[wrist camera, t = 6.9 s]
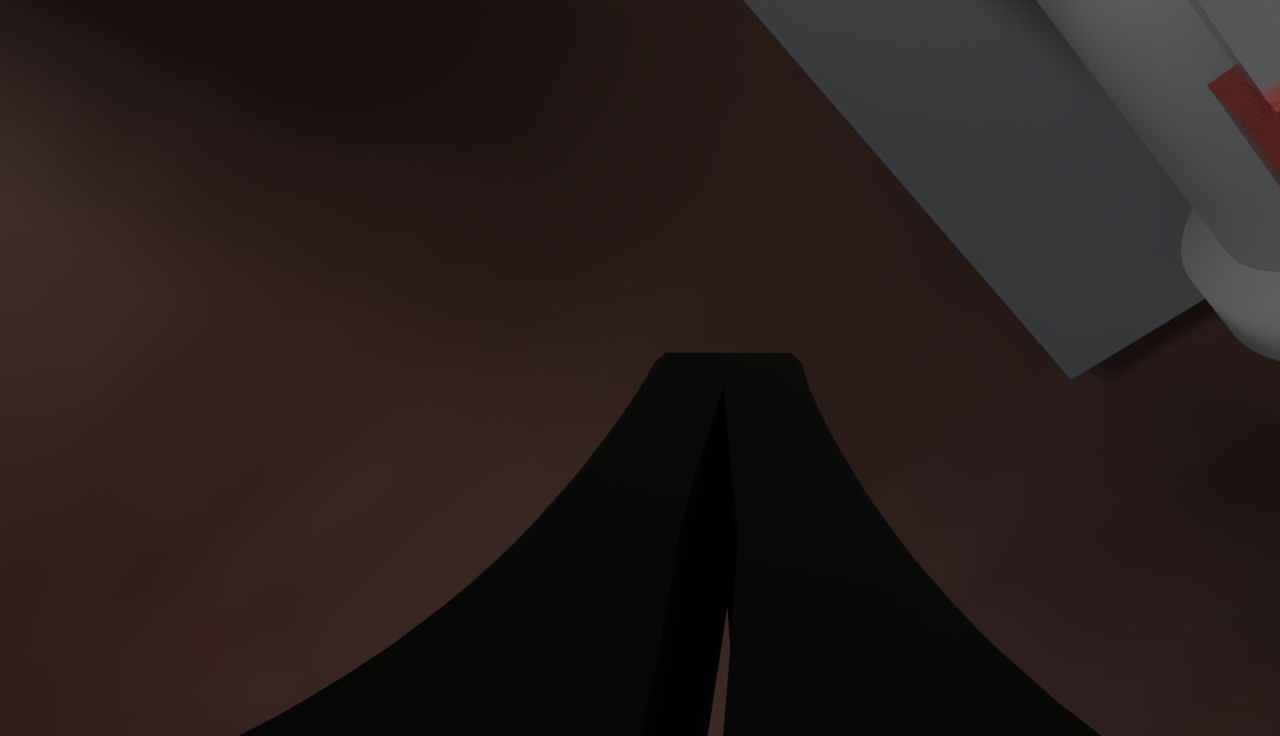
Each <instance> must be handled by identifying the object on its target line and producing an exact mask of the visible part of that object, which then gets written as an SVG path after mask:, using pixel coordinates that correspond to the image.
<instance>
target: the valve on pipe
mask: <svg viewBox="0 0 1280 736" xmlns="http://www.w3.org/2000/svg"><path fill="white" fill-rule="evenodd" d="M744 2H745V3H746V4H747V5H748V6H749V7H750V9H751V10H752V11H753V12H754V13H755V14H756V15H757V17H758V18H759V19H760V20H761V21H762V22H763V24H764V25H765V26H766V27H767V28H768V29H769V31H770V32H771V33H772V34H773V35H774V36H775V37H776V39H777V40H778V41H779V42H780V43H781V44H782V46H783V47H784V48H785V49H786V50H787V51H788V53H789V54H790V55H791V56H792V57H793V58H794V59H795V61H796V62H797V63H798V64H799V65H800V66H801V68H802V69H803V70H804V71H805V72H806V73H807V75H808V76H809V77H810V78H811V79H812V80H813V81H814V83H815V84H816V85H817V86H818V87H819V88H820V90H821V91H822V92H823V93H824V94H825V95H826V97H827V98H828V99H829V100H830V101H831V102H832V103H833V105H834V106H835V107H836V108H837V109H838V110H839V112H840V113H841V114H842V115H843V116H844V117H845V119H846V120H847V121H848V122H849V123H850V124H851V125H852V127H853V128H854V129H855V130H856V131H857V132H858V134H859V135H860V136H861V137H862V138H863V139H864V141H865V142H866V143H867V144H868V145H869V146H870V147H871V149H872V150H873V151H874V152H875V153H876V154H877V156H878V157H879V158H880V159H881V160H882V161H883V163H884V164H885V165H886V166H887V167H888V168H889V169H890V171H891V172H892V173H893V174H894V175H895V176H896V178H897V179H898V180H899V181H900V182H901V183H902V185H903V186H904V187H905V188H906V189H907V190H908V191H909V193H910V194H911V195H912V196H913V197H914V198H915V200H916V201H917V202H918V203H919V204H920V205H921V207H922V208H923V209H924V210H925V211H926V212H927V213H928V215H929V216H930V217H931V218H932V219H933V220H934V222H935V223H936V224H937V225H938V226H939V227H940V229H941V230H942V231H943V232H944V233H945V234H946V235H947V237H948V238H949V239H950V240H951V241H952V242H953V244H954V245H955V246H956V247H957V248H958V249H959V251H960V252H961V253H962V254H963V255H964V256H965V257H966V259H967V260H968V261H969V262H970V263H971V264H972V266H973V267H974V268H975V269H976V270H977V271H978V273H979V274H980V275H981V276H982V277H983V278H984V279H985V281H986V282H987V283H988V284H989V285H990V286H991V288H992V289H993V290H994V291H995V292H996V293H997V295H998V296H999V297H1000V298H1001V299H1002V300H1003V301H1004V303H1005V304H1006V305H1007V306H1008V307H1009V308H1010V310H1011V311H1012V312H1013V313H1014V314H1015V315H1016V317H1017V318H1018V319H1019V320H1020V321H1021V322H1022V323H1023V325H1024V326H1025V327H1026V328H1027V329H1028V330H1029V332H1030V333H1031V334H1032V335H1033V336H1034V337H1035V339H1036V340H1037V341H1038V342H1039V343H1040V344H1041V345H1042V347H1043V348H1044V349H1045V350H1046V351H1047V352H1048V354H1049V355H1050V356H1051V357H1052V358H1053V359H1054V361H1055V362H1056V363H1057V364H1058V365H1059V366H1060V367H1061V369H1062V370H1063V371H1064V372H1065V373H1066V374H1067V376H1068V377H1069V378H1070V379H1071V380H1072V379H1074V378H1075V377H1077V376H1079V375H1080V374H1082V373H1084V372H1085V371H1087V370H1089V369H1090V368H1092V367H1093V366H1095V365H1097V364H1098V363H1100V362H1102V361H1103V360H1105V359H1107V358H1108V357H1110V356H1112V355H1113V354H1115V353H1116V352H1118V351H1120V350H1121V349H1123V348H1125V347H1126V346H1128V345H1130V344H1131V343H1133V342H1135V341H1136V340H1138V339H1140V338H1141V337H1143V336H1144V335H1146V334H1148V333H1149V332H1151V331H1153V330H1154V329H1156V328H1158V327H1159V326H1161V325H1163V324H1164V323H1166V322H1168V321H1169V320H1171V319H1172V318H1174V317H1176V316H1177V315H1179V314H1181V313H1182V312H1184V311H1186V310H1187V309H1189V308H1191V307H1192V306H1194V305H1196V304H1197V303H1199V302H1200V301H1202V300H1204V299H1205V298H1206V300H1207V301H1208V302H1209V304H1210V305H1211V306H1212V307H1213V309H1214V310H1215V311H1216V313H1217V314H1218V315H1219V316H1220V318H1221V319H1222V320H1223V322H1224V323H1225V324H1226V325H1227V327H1228V328H1229V329H1230V331H1231V332H1232V333H1233V334H1234V336H1235V337H1236V338H1237V339H1238V340H1239V341H1240V342H1241V343H1243V344H1244V345H1245V346H1246V347H1248V348H1249V349H1251V350H1253V351H1255V352H1257V353H1259V354H1261V355H1262V356H1266V357H1269V358H1272V359H1275V360H1278V361H1280V186H1279V185H1278V184H1277V182H1276V181H1275V179H1274V178H1273V177H1272V175H1271V174H1270V172H1269V171H1268V170H1267V168H1266V167H1265V166H1264V164H1263V163H1262V161H1261V160H1260V159H1259V157H1258V156H1257V154H1256V153H1255V152H1254V150H1253V149H1252V147H1251V146H1250V145H1249V143H1248V142H1247V140H1246V139H1245V138H1244V136H1243V135H1242V133H1241V132H1240V131H1239V129H1238V128H1237V126H1236V125H1235V124H1234V122H1233V121H1232V119H1231V118H1230V117H1229V115H1228V114H1227V112H1226V111H1225V110H1224V108H1223V107H1222V105H1221V104H1220V103H1219V101H1218V100H1217V98H1216V97H1215V96H1214V94H1213V93H1212V91H1211V90H1210V89H1209V87H1208V86H1207V85H1208V84H1209V83H1211V82H1212V81H1214V80H1215V79H1216V78H1218V77H1219V76H1221V75H1222V74H1224V73H1225V72H1227V71H1228V70H1229V69H1231V68H1232V67H1234V65H1233V64H1232V63H1231V61H1230V60H1229V58H1228V57H1227V55H1226V54H1225V53H1224V51H1223V50H1222V48H1221V47H1220V45H1219V44H1218V43H1217V41H1216V40H1215V38H1214V37H1213V35H1212V34H1211V33H1210V31H1209V30H1208V28H1207V27H1206V25H1205V24H1204V23H1203V21H1202V20H1201V18H1200V17H1199V15H1198V14H1197V13H1196V11H1195V10H1194V8H1193V7H1192V5H1191V4H1190V3H1189V1H1188V0H744Z"/></svg>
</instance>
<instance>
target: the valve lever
mask: <svg viewBox="0 0 1280 736" xmlns="http://www.w3.org/2000/svg"><path fill="white" fill-rule="evenodd" d="M1188 1H1189V3H1190V4H1191V5H1192V7H1193V8H1194V10H1195V11H1196V13H1197V14H1198V15H1199V17H1200V18H1201V20H1202V21H1203V23H1204V24H1205V25H1206V27H1207V28H1208V30H1209V31H1210V33H1211V34H1212V35H1213V37H1214V38H1215V40H1216V41H1217V43H1218V44H1219V45H1220V47H1221V48H1222V50H1223V51H1224V53H1225V54H1226V55H1227V57H1228V58H1229V60H1230V61H1231V63H1232V64H1233V65H1234V67H1232V68H1231V69H1229V70H1228V71H1227V72H1225V73H1224V74H1222V75H1221V76H1219V77H1218V78H1216V79H1215V80H1214V81H1212V82H1211V83H1209V84H1208V85H1207V86H1208V87H1209V89H1210V90H1211V91H1212V93H1213V94H1214V96H1215V97H1216V98H1217V100H1218V101H1219V103H1220V104H1221V105H1222V107H1223V108H1224V110H1225V111H1226V112H1227V114H1228V115H1229V117H1230V118H1231V119H1232V121H1233V122H1234V124H1235V125H1236V126H1237V128H1238V129H1239V131H1240V132H1241V133H1242V135H1243V136H1244V138H1245V139H1246V140H1247V142H1248V143H1249V145H1250V146H1251V147H1252V149H1253V150H1254V152H1255V153H1256V154H1257V156H1258V157H1259V159H1260V160H1261V161H1262V163H1263V164H1264V166H1265V167H1266V168H1267V170H1268V171H1269V172H1270V174H1271V175H1272V177H1273V178H1274V179H1275V181H1276V182H1277V184H1278V185H1279V186H1280V0H1188Z"/></svg>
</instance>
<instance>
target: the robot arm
mask: <svg viewBox="0 0 1280 736" xmlns="http://www.w3.org/2000/svg"><path fill="white" fill-rule="evenodd" d="M727 606H728V621H729V636H730V660H729V672H728V684H727V696H726V708H725V720H724V731H723V736H1101V735H1099V734H1098V733H1097V732H1096V731H1094V730H1093V729H1092V728H1090V727H1089V726H1088V725H1087V724H1085V723H1084V722H1083V721H1081V720H1080V719H1079V718H1078V717H1076V716H1075V715H1074V714H1072V713H1071V712H1070V711H1068V710H1067V709H1066V708H1065V707H1063V706H1062V705H1061V704H1059V703H1058V702H1057V701H1056V700H1055V699H1053V698H1052V697H1051V696H1050V695H1049V694H1048V693H1047V692H1046V691H1044V690H1043V689H1042V688H1041V687H1040V686H1039V685H1038V684H1037V683H1035V682H1034V681H1033V680H1032V679H1031V678H1030V677H1029V676H1028V675H1027V674H1025V673H1024V672H1023V671H1022V670H1021V669H1020V668H1019V667H1018V666H1016V665H1015V664H1014V663H1013V662H1012V661H1011V660H1010V659H1009V658H1007V657H1006V656H1005V655H1004V654H1003V653H1002V652H1001V651H1000V650H999V649H997V648H996V647H995V646H994V645H993V644H992V643H991V642H990V641H989V640H988V639H987V638H986V637H985V636H984V635H983V634H982V633H981V632H980V631H979V630H978V629H977V628H976V627H975V626H974V625H973V624H972V623H971V622H970V621H969V619H968V618H967V617H966V616H965V615H964V614H963V613H962V612H961V611H960V610H959V609H958V608H957V607H956V606H955V605H954V604H953V603H952V602H951V601H950V599H949V598H948V597H947V596H946V595H945V594H944V593H943V592H942V590H941V589H940V588H939V587H938V586H937V585H936V584H935V582H934V581H933V580H932V579H931V578H930V577H929V576H928V575H927V573H926V572H925V571H924V570H923V569H922V567H921V566H920V565H919V564H918V562H917V561H916V560H915V559H914V558H913V556H912V555H911V554H910V553H909V551H908V550H907V549H906V547H905V546H904V545H903V544H902V542H901V541H900V540H899V538H898V537H897V536H896V534H895V533H894V532H893V530H892V529H891V527H890V526H889V525H888V523H887V522H886V521H885V519H884V518H883V516H882V515H881V514H880V512H879V511H878V509H877V508H876V507H875V505H874V504H873V502H872V501H871V499H870V498H869V496H868V495H867V493H866V492H865V490H864V489H863V487H862V486H861V484H860V482H859V481H858V479H857V477H856V476H855V474H854V473H853V471H852V469H851V468H850V466H849V464H848V463H847V461H846V459H845V458H844V456H843V454H842V453H841V451H840V449H839V448H838V446H837V444H836V442H835V440H834V439H833V437H832V435H831V433H830V431H829V429H828V427H827V425H826V423H825V421H824V419H823V417H822V415H821V413H820V411H819V409H818V407H817V405H816V403H815V400H814V398H813V396H812V393H811V391H810V388H809V386H808V383H807V380H806V377H805V374H804V370H803V364H802V363H801V362H800V361H799V360H798V359H797V358H796V357H794V356H793V355H792V354H791V353H665V354H664V355H663V356H662V357H660V358H659V359H658V360H657V361H656V362H655V363H654V365H653V367H652V368H651V370H650V372H649V374H648V376H647V377H646V379H645V380H644V382H643V384H642V385H641V387H640V389H639V390H638V392H637V393H636V395H635V396H634V398H633V399H632V401H631V402H630V404H629V405H628V407H627V408H626V410H625V411H624V413H623V414H622V415H621V417H620V418H619V420H618V421H617V423H616V424H615V425H614V427H613V428H612V430H611V431H610V432H609V433H608V435H607V436H606V437H605V439H604V440H603V441H602V443H601V444H600V445H599V446H598V448H597V449H596V450H595V452H594V453H593V454H592V456H591V457H590V458H589V460H588V461H587V462H586V463H585V465H584V466H583V467H582V468H581V470H580V471H579V472H578V473H577V475H576V476H575V477H574V478H573V479H572V480H571V482H570V483H569V484H568V485H567V486H566V487H565V488H564V489H563V491H562V492H561V493H560V494H559V495H558V496H557V497H556V498H555V500H554V501H553V502H552V503H551V504H550V505H549V506H548V507H547V509H546V510H545V511H544V512H543V513H542V514H541V515H540V516H539V518H538V519H537V520H536V521H535V522H534V523H533V524H532V525H531V526H530V527H529V528H528V529H527V530H526V531H525V532H524V533H523V534H522V535H521V536H520V537H519V538H518V539H517V540H516V541H515V542H514V544H513V545H511V546H510V547H509V548H508V549H507V550H506V551H505V552H504V553H503V554H502V555H501V556H500V557H499V558H498V559H497V560H496V561H495V562H494V563H492V564H491V565H490V566H489V567H488V568H487V569H486V570H485V571H484V572H483V573H481V574H480V575H479V576H478V577H477V578H476V579H475V580H474V581H473V582H472V583H470V584H469V585H468V586H467V587H466V588H465V589H463V590H462V591H461V592H460V593H458V594H457V595H456V596H455V597H454V598H452V599H451V600H450V601H449V602H447V603H446V604H445V605H444V606H442V607H441V608H440V609H439V610H437V611H436V612H435V613H433V614H432V615H431V616H429V617H428V618H427V619H425V620H424V621H423V622H422V623H420V624H419V625H418V626H416V627H415V628H414V629H412V630H411V631H410V632H408V633H407V634H406V635H404V636H403V637H402V638H401V639H399V640H398V641H396V642H395V643H394V644H392V645H391V646H389V647H388V648H386V649H385V650H383V651H382V652H380V653H379V654H377V655H376V656H374V657H373V658H371V659H370V660H368V661H367V662H365V663H364V664H362V665H361V666H359V667H358V668H356V669H355V670H353V671H352V672H350V673H349V674H347V675H345V676H344V677H342V678H340V679H339V680H337V681H335V682H334V683H332V684H331V685H329V686H327V687H326V688H324V689H322V690H321V691H319V692H317V693H316V694H314V695H313V696H311V697H309V698H308V699H306V700H304V701H303V702H301V703H299V704H297V705H296V706H294V707H292V708H290V709H288V710H287V711H285V712H283V713H281V714H280V715H278V716H276V717H274V718H272V719H270V720H269V721H267V722H265V723H263V724H261V725H259V726H257V727H255V728H253V729H251V730H249V731H247V732H245V733H243V734H241V735H240V736H708V730H709V724H710V717H711V711H712V704H713V698H714V691H715V685H716V678H717V672H718V665H719V659H720V652H721V645H722V639H723V632H724V625H725V619H726V612H727Z"/></svg>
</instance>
